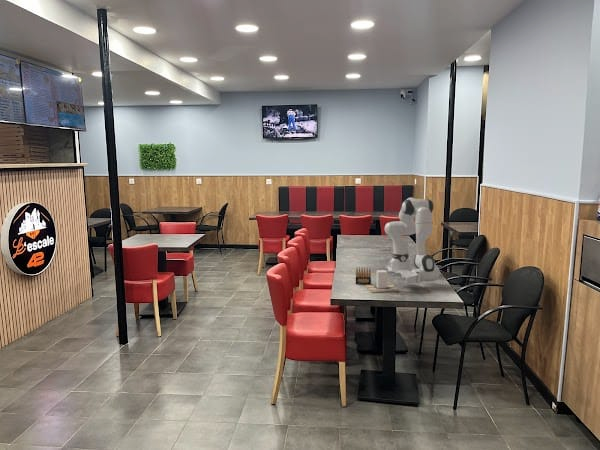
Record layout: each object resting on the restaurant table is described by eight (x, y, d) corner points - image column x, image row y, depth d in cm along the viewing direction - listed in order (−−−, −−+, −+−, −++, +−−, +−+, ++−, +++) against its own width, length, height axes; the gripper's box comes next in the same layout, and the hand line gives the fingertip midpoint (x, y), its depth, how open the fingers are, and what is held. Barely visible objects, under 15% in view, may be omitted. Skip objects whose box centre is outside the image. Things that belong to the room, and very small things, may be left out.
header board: (365, 286, 304) (365, 284, 304) (391, 285, 306) (391, 283, 306) (371, 292, 288) (371, 291, 288) (398, 291, 290) (398, 290, 290)
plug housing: (376, 286, 299) (376, 270, 298) (385, 286, 300) (385, 270, 298) (378, 288, 294) (378, 272, 293) (387, 288, 295) (387, 271, 293)
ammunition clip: (355, 284, 310) (355, 267, 308) (355, 283, 312) (355, 266, 310) (371, 284, 308) (371, 267, 307) (371, 283, 310) (371, 267, 308)
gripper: (410, 267, 308) (390, 268, 307) (421, 274, 288) (400, 275, 287) (410, 276, 309) (390, 277, 308) (420, 284, 289) (400, 285, 288)
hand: (395, 276), depth 297 cm, fingers open, 8 cm apart
